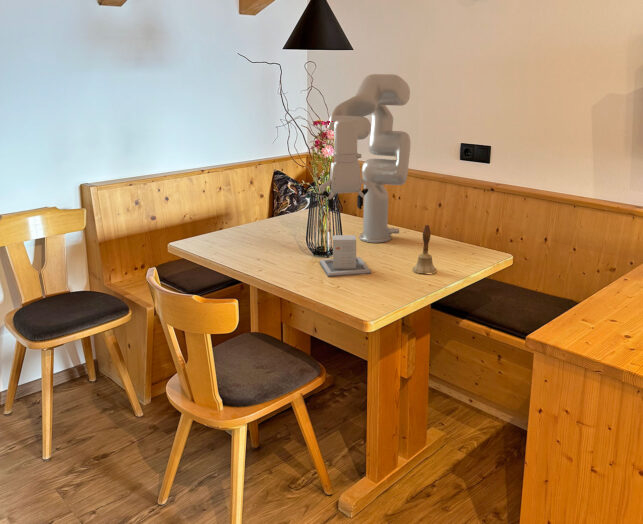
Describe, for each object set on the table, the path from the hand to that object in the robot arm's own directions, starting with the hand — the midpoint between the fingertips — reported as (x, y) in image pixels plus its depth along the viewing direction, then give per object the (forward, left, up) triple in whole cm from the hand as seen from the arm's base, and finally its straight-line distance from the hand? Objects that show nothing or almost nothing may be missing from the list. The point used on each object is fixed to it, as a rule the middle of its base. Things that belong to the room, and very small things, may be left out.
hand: (345, 209), depth 215 cm
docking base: (0, 0, -21) cm, 21 cm away
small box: (0, 0, -21) cm, 21 cm away
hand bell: (-26, +8, -21) cm, 34 cm away
